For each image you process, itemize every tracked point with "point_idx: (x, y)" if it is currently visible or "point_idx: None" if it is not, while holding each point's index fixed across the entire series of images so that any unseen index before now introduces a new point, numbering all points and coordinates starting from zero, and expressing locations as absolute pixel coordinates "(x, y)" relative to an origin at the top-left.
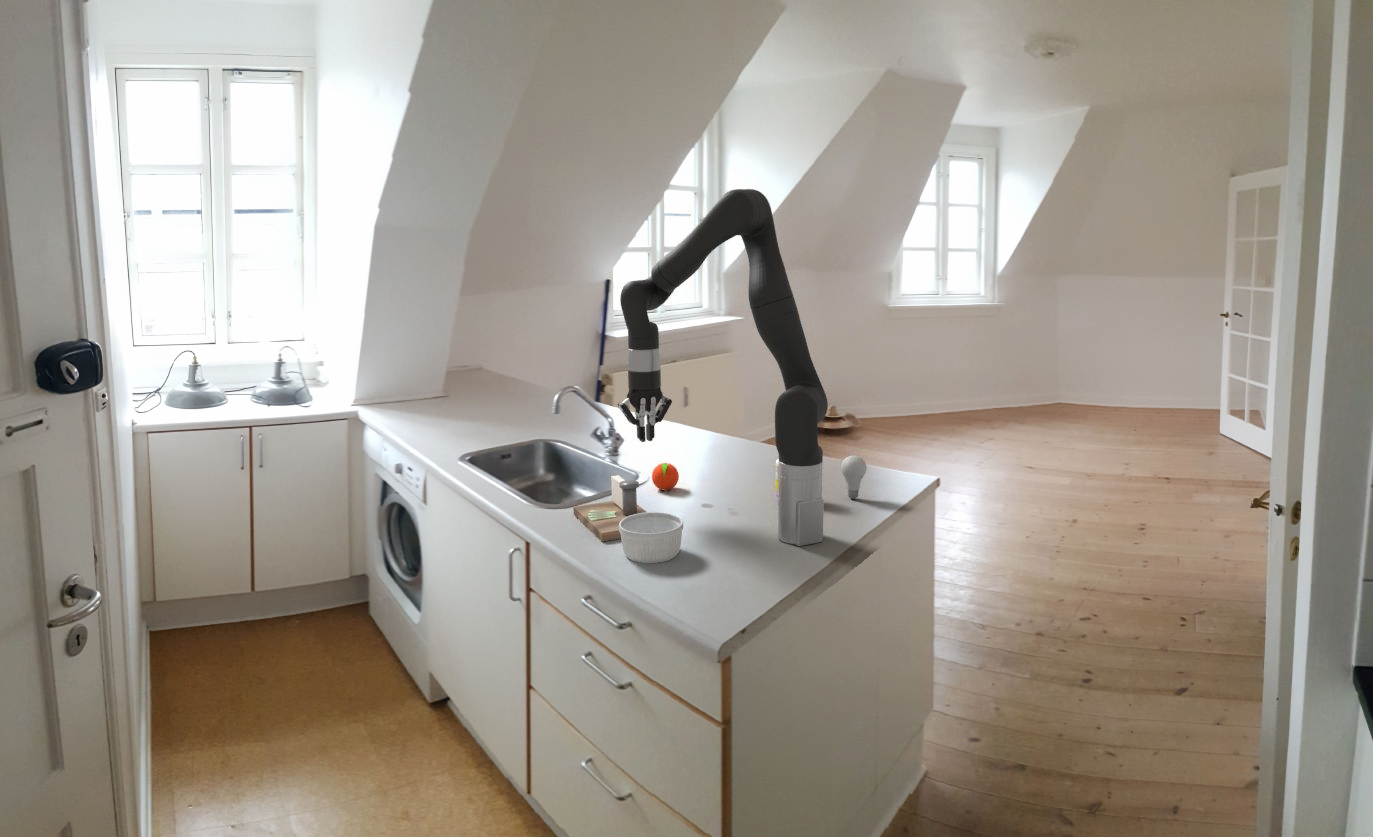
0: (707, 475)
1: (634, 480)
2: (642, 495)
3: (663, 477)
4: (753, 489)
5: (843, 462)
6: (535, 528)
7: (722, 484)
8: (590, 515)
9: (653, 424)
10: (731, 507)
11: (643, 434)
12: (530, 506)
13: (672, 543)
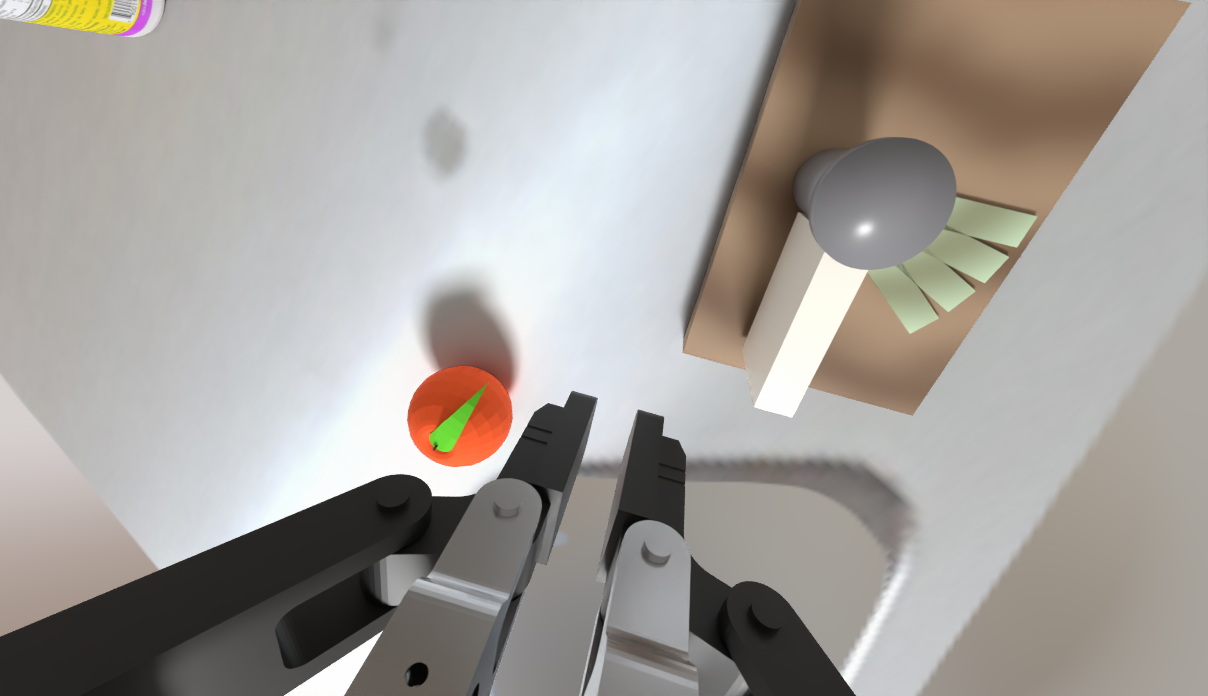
0: (309, 403)
1: (814, 230)
2: None
3: (483, 394)
4: (217, 187)
5: None
6: (1130, 377)
7: (298, 306)
8: (967, 283)
9: (508, 486)
10: (369, 50)
11: (650, 454)
12: (922, 544)
13: None
